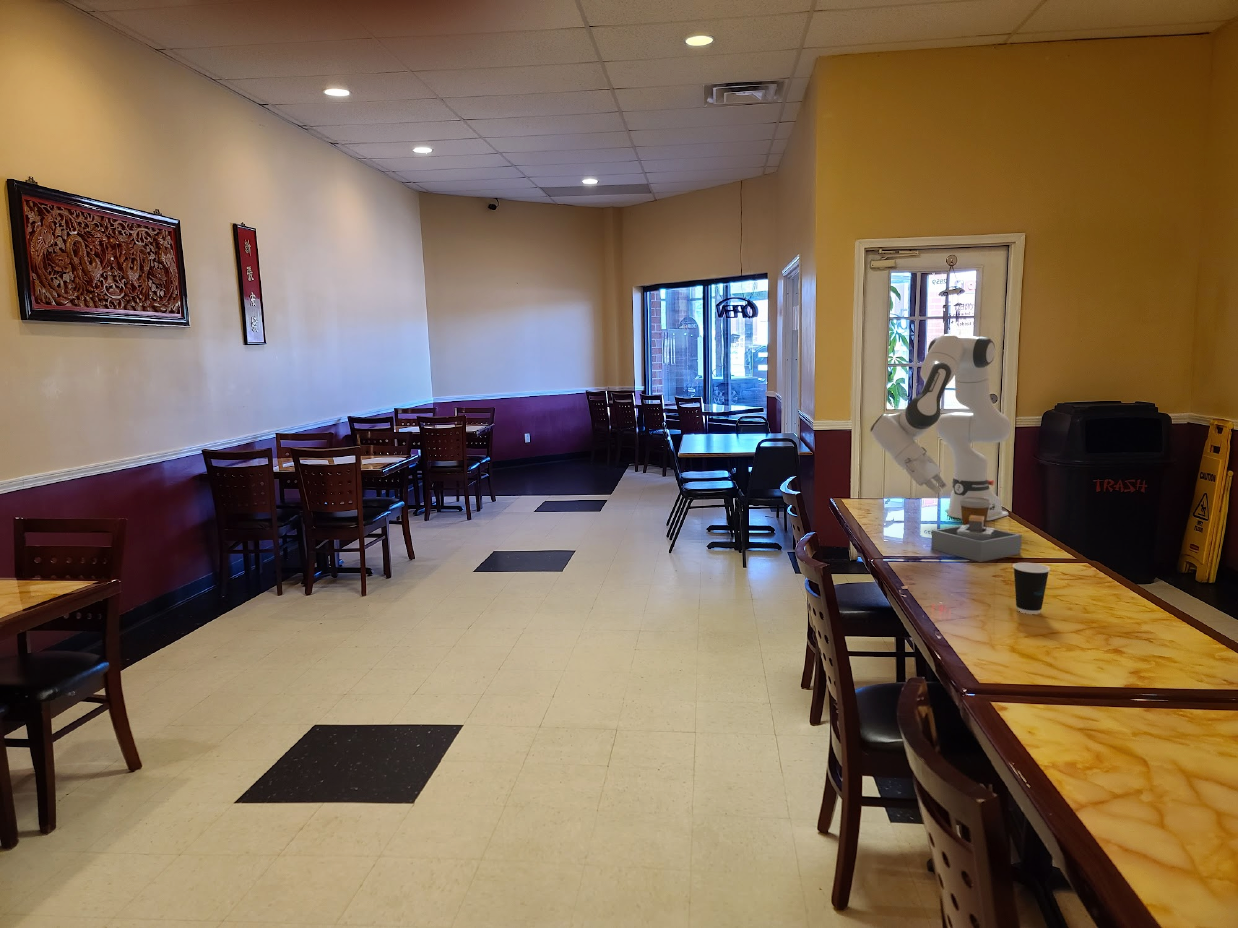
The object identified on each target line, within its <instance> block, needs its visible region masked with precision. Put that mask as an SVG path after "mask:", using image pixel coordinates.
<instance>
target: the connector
mask: <svg viewBox="0 0 1238 928" xmlns="http://www.w3.org/2000/svg"><path fill="white" fill-rule="evenodd" d="M983 526H984V516H976V515H971V516H970V517H969V531H978V532H983Z"/></svg>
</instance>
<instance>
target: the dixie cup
mask: <svg viewBox="0 0 1238 928" xmlns="http://www.w3.org/2000/svg"><path fill="white" fill-rule="evenodd" d="M1012 568H1013V573H1014V577H1013V578H1014V589H1015V593H1014V595H1015V605H1016V607H1017V611H1018V612H1019V611H1020V612H1019V613H1022V614H1025V613H1026V614H1025V615H1032V614H1035V615H1039V614H1040V613H1041V610H1042V608H1043V604H1044V598H1045V593H1046V587H1047V582H1048V577H1049V572H1050V571H1051V568H1050V567H1049V566H1047V565H1045V564H1041V563H1035V562H1017V563H1013V564H1012ZM1038 613H1039V614H1038Z"/></svg>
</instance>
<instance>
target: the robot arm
mask: <svg viewBox="0 0 1238 928" xmlns="http://www.w3.org/2000/svg"><path fill="white" fill-rule="evenodd" d="M927 347H928V348H927V354H926V355H925V358H924V360H923V362H922V364H921V368H920V373H919V374H920V377H921V379H922V380H923V382H924V384H923V387H922V389H921V390H920V393H919V394H918V395H916V396H915V397H913V398H912V399H911V400H910V401H909V403H908V404H907V406H906V407H905V408H904V410H903V411H900V412H897V413H893V414H892V413H891V414H890V413H889V414H887V413H883V414H881V415H880V416H879V417H878V418H877V419H876V420H875V422H874V423H873V424H872V425H871V427H870V430H869V431H870V433H871V436H872V438H873V439H874V440H875V442H876V443H877V444H878V445H879V446H880V447H881V449H883V450H884V451H886V452H887V453H888V454H889V455H890V456H891V459H892V460H893V461H894V462H895V463H896V464H897V465H898V466H899V467H900V468H901V469H902V470H903V471H905V472H907V474H908V475H909V476H910V478H911V479H912V480H913V481H914V482H915V484H917V485H918V486H920V487H923V486H924V485H925V486H926V488H928V489H930V490H931V491H933V493H934V494H936V495H937V494H938V493H940V492H941V491H942V490H943V489H945V488H946V487H947V486H948V484H947V483H946V482H945V481H944V479H943V477H942V476H941V475H940V474H939V473H941V472H942V471H941V468H940V467H939V465H938V464H937V463H936V462H935V460H934V459H933V458H932V457H931V456H930V454H928V450H927V449H926V448H925V447H923V446H921V445H920V444H918V442H916V440H917V439H919V438H921V437H922V436H923V435H924V434H925V433H927V431H928V430H929V429H930V428H931V427H932V426H933V425H935V432H936V435H937V436H938V438H940V439H941V440H942V441H943V442H944V443H946V445H947V446H948V447H949V449H950V451H951V454H952V457H953V463H954V464H953V465H954V467H953V468H954V471H953V473H954V474H953V476H954V477H953V478H952V482H951V483H952V491H951V492H950V497H949V504H948V505H949V506H948V508H947V509H946V513H947V515H948V516H949V517H951V518H956V519H961V520H962V512H961V505H960V501H961V498H964V497H979V498H985V499H988V500H989V503H990V506H989V509H988V514H987V519H986V521H992V520H997V519H1000V518H1003V517H1007V516H1009V513H1008V511H1006V510H1003V509H1002V499H1000V497H999V496H997V495H996V494H995V493H994V492H993V491H992V490H991V489H990V486H994V485H995V480H994V479H987V477H988V476H987V474H988V472H987V471H988V460H987V458H986V456H985V455H983V454H982V453H980V452H979V451H976V450H975V449H973V446H972V444H971V443H979V444H981V443H982V444H996V443H1003V442H1005V441H1006V440H1007V439H1008V438H1009V437H1010V435H1011V432H1012V423H1011V420H1010V419H1009V418H1008V417H1007V416H1006V415H1005V414H1004V413H1001V412H1000V411H999V410H998V409H997V407H996V406H995V405H994V403H993V401H992V399H991V395H990V385H989V365H990V364H991V363H993V361H994V359H995V355H996V347H995V343H994V341H993V340H992V339H991V338H990V337H986V336H973V335H956V334H951V333H947V334H942V335H941V336H937V337H935V338H933V339H932V340H930V343H929V344H928V346H927ZM953 378H954V386H955V387H954V388H955V389H954V391H955V394H954V395H955V398H956V401H958V403H959V404H961V405H962V406H964V407H966V408H968V409H969V410H970V411H971V412H959V411H958V412H955V411H954V412H948V413H943V414H941V400H942V397H943V394H944V392H945V390H946V388H947V386H948V385H949V384H950V382H951V381H952V380H953ZM934 482H936V483H937V484H936V483H934Z"/></svg>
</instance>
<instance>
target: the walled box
mask: <svg viewBox="0 0 1238 928" xmlns="http://www.w3.org/2000/svg"><path fill="white" fill-rule="evenodd" d="M962 525H963V524H961V525H956V526H950V527H943V528H938V529H932V530H931V546H930V548H931V550H934V551H938V552H943V553H946V554H949V555H953V556H957V557H960V558H964V559H968V560H971V561H975V562H980V563H983V562H987V561H988V562H989V561H992V560H993V561H994V560H998V559H1003V558H1007V557H1012V556H1018V555H1021V554H1022V553H1021V552H1022V538H1023V537H1022V534H1019V533H1014V532H1009V531H1005V530H1002V529H996V528H995V539H990V540H984V541H978V540H974V539H970V538H965V537H961V536H957V530H958V529H959V528H960V527H961V526H962ZM967 525H969V524H967Z"/></svg>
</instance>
